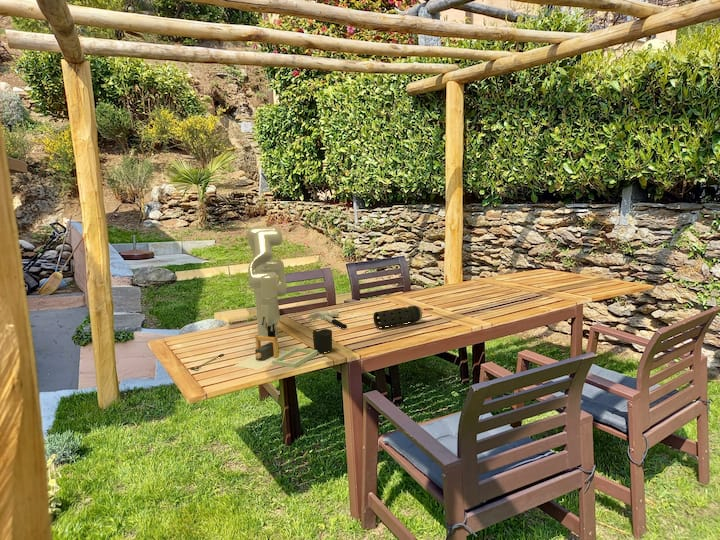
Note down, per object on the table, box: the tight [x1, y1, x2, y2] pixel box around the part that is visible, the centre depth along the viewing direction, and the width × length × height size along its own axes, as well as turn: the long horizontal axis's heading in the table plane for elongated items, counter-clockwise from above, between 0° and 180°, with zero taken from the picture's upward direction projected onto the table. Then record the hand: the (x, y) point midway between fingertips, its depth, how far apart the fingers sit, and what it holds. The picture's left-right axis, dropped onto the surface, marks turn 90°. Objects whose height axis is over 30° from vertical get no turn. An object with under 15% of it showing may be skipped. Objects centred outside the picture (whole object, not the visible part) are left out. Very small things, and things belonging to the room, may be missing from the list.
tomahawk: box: [190, 353, 225, 372], centre depth 219 cm, size 21×7×1 cm, turn 156°
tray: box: [271, 347, 319, 369], centre depth 219 cm, size 20×12×2 cm, turn 155°
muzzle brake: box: [372, 305, 423, 329], centre depth 273 cm, size 10×28×10 cm, turn 117°
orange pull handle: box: [255, 335, 279, 358], centre depth 223 cm, size 2×11×9 cm, turn 65°
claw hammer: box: [306, 309, 348, 329], centre depth 281 cm, size 6×22×30 cm
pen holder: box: [312, 328, 333, 353], centre depth 231 cm, size 9×9×10 cm
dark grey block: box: [255, 341, 280, 361], centre depth 224 cm, size 14×4×5 cm, turn 155°
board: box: [233, 349, 290, 371], centre depth 221 cm, size 26×14×1 cm, turn 155°
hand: (271, 338), depth 226 cm, fingers closed
